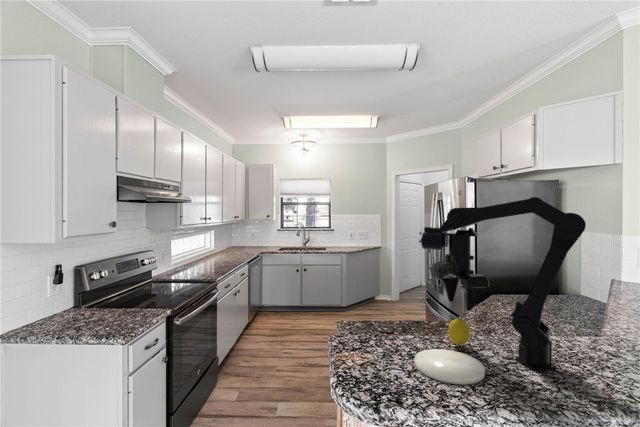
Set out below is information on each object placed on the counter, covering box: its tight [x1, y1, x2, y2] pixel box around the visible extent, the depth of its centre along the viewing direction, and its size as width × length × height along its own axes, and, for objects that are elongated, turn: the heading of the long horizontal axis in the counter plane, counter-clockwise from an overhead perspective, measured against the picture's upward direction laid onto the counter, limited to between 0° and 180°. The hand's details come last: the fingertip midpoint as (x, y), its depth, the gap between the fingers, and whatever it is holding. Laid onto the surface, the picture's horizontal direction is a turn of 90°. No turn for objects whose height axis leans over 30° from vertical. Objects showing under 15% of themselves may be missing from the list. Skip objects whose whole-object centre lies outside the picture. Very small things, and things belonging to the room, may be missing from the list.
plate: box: [414, 348, 486, 385], centre depth 80 cm, size 16×16×1 cm
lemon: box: [448, 317, 471, 347], centre depth 94 cm, size 6×6×8 cm
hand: (459, 305), depth 94 cm, fingers open, 9 cm apart
